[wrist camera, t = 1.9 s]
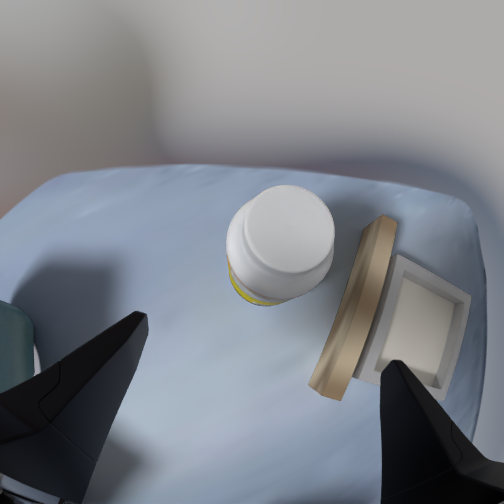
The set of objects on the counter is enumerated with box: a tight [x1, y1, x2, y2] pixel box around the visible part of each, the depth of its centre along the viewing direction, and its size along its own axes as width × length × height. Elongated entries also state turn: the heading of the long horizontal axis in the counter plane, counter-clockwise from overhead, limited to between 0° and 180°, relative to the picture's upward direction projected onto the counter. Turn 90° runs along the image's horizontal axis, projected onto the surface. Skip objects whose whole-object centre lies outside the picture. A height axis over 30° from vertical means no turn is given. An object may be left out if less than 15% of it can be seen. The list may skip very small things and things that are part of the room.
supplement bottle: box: [226, 185, 335, 306], centre depth 16 cm, size 6×6×10 cm
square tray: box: [352, 254, 472, 401], centre depth 19 cm, size 10×10×2 cm
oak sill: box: [308, 214, 398, 401], centre depth 19 cm, size 14×2×4 cm, turn 157°
